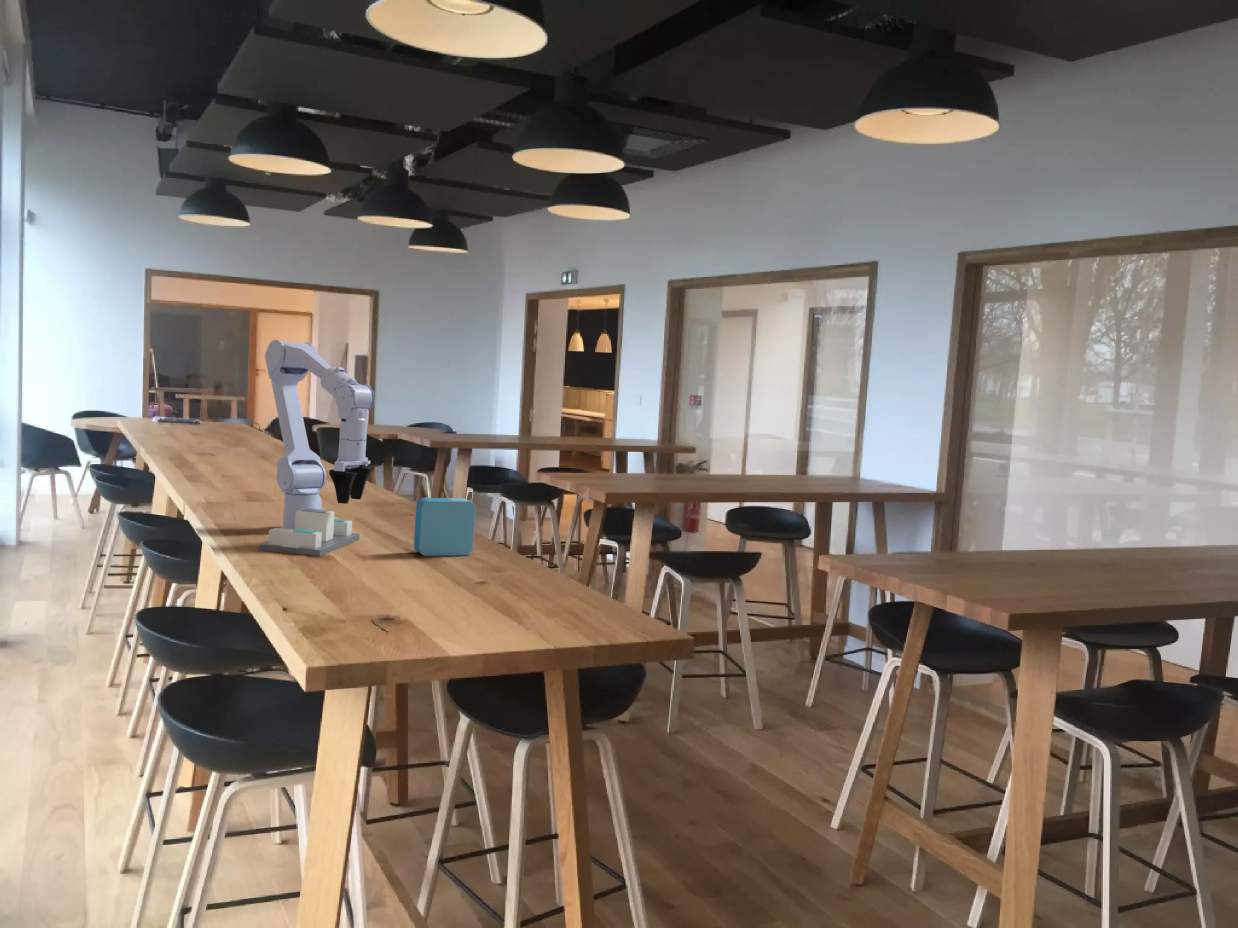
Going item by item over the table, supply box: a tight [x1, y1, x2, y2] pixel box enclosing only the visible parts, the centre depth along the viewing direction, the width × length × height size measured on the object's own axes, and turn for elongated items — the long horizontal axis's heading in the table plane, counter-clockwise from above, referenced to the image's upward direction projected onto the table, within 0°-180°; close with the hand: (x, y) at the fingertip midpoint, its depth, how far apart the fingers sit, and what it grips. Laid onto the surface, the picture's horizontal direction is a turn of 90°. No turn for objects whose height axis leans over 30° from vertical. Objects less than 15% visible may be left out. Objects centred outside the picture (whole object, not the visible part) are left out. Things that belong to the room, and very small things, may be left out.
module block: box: [295, 509, 335, 542], centre depth 208 cm, size 4×7×6 cm, turn 84°
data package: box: [413, 497, 476, 557], centre depth 209 cm, size 12×4×12 cm, turn 118°
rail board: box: [258, 518, 360, 557], centre depth 208 cm, size 22×13×4 cm, turn 175°
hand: (349, 501), depth 212 cm, fingers open, 7 cm apart
